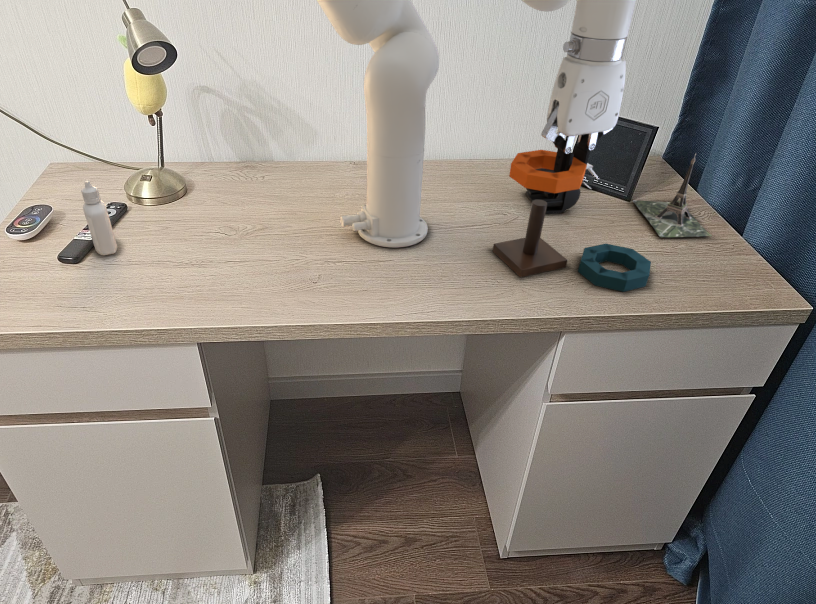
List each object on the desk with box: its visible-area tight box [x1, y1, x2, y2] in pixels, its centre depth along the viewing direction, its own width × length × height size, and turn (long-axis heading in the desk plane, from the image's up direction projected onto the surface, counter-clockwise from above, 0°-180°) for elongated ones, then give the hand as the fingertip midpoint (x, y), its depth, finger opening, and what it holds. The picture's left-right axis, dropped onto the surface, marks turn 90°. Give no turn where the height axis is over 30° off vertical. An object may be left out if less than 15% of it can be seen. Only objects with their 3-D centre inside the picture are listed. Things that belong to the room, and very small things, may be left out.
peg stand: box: [492, 200, 568, 278], centre depth 101 cm, size 9×9×10 cm
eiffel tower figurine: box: [632, 153, 713, 238], centre depth 114 cm, size 15×10×13 cm
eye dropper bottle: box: [81, 180, 118, 256], centre depth 100 cm, size 4×6×12 cm
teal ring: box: [577, 243, 652, 293], centre depth 101 cm, size 11×11×2 cm
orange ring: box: [509, 149, 587, 193], centre depth 95 cm, size 11×11×2 cm
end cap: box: [524, 168, 581, 215], centre depth 120 cm, size 10×7×7 cm
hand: (569, 172), depth 97 cm, fingers closed on orange ring, 2 cm apart
